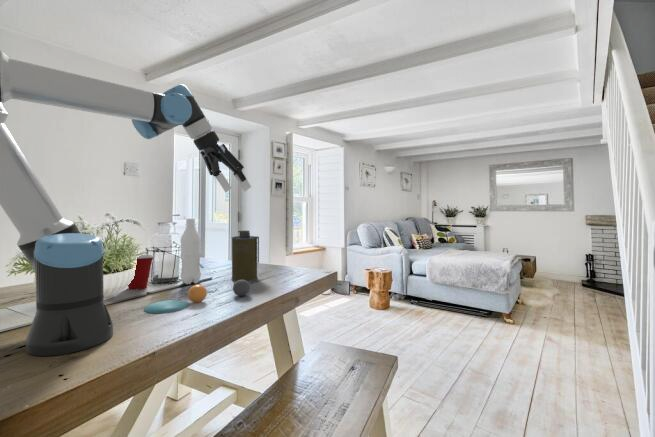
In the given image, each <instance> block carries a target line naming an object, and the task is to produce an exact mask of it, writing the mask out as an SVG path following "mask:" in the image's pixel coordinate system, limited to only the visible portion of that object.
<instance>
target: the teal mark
mask: <svg viewBox="0 0 655 437" xmlns="http://www.w3.org/2000/svg"><path fill="white" fill-rule="evenodd" d="M189 306H190V303H189V302H188V301H186V300H183V299H182V300H181V299H180V300H179V299H174V300H173V299H171V300H170V299H169V300H163V301H162V300H161V301H158V302H153V303H151V304H148V305H146V306H144V308H143V311H144V312H145V313H149V314H169V313H174V312H179V311H182V310H184V309H187V308H188V307H189Z"/></svg>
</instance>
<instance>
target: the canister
mask: <svg viewBox="0 0 655 437" xmlns="http://www.w3.org/2000/svg"><path fill="white" fill-rule="evenodd" d="M237 233H239V235H235V236H232V237H231V281H233V282H236V281H238V280H246V281H247V282H248V283H249V282H253V281H254V282H255V281H257V279H258V264H259V263H260V237H259V236H257V235H256V236H255V235H251V234H250V230H238V231H237Z"/></svg>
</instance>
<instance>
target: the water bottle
mask: <svg viewBox="0 0 655 437" xmlns="http://www.w3.org/2000/svg"><path fill="white" fill-rule="evenodd" d="M201 241H202V240H201V236H200V234H199V232H198V230H197V229H196V219H195V218H186V223H185V230H184V232H182V235H181V237H180V259H181V272H180V280H181V283H182V284H184V283H185V285H188V284H189V285H191V284H192V283H193V284H194V285H197V284H198V283H199V282H200V279H201V277H202V272H201V267H200V261H201V257H202V256H201V255H202V254H201Z"/></svg>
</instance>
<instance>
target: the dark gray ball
mask: <svg viewBox="0 0 655 437" xmlns="http://www.w3.org/2000/svg"><path fill="white" fill-rule="evenodd" d="M234 282H235V283H234V284H233V286H232V290H233V291H232V292H233V293H234V295H236V296H238V297H244V296H246V295H247V294H248V293H249V292H250V290H251V286H250V284H249V282H247V281H246V280H238V281H234Z"/></svg>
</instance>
